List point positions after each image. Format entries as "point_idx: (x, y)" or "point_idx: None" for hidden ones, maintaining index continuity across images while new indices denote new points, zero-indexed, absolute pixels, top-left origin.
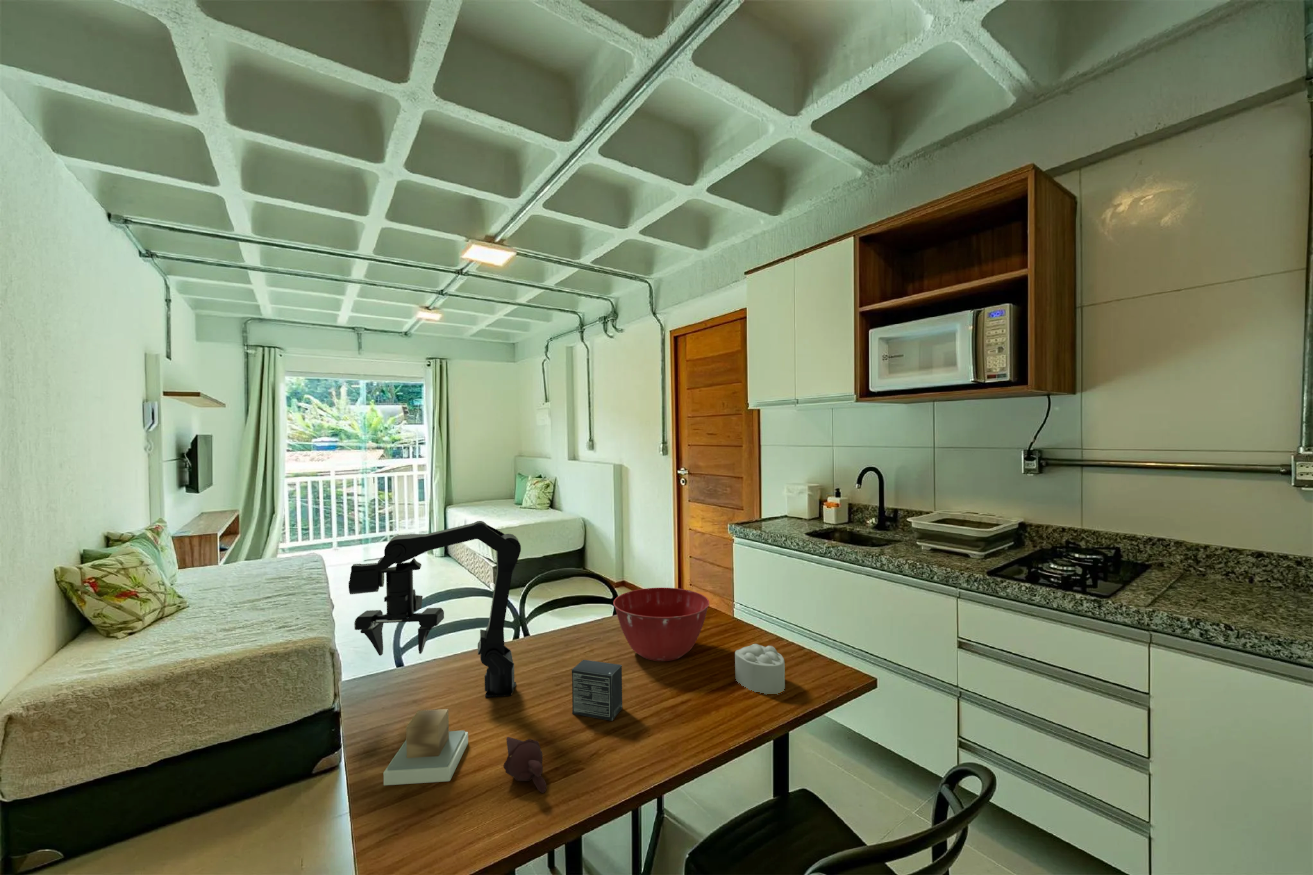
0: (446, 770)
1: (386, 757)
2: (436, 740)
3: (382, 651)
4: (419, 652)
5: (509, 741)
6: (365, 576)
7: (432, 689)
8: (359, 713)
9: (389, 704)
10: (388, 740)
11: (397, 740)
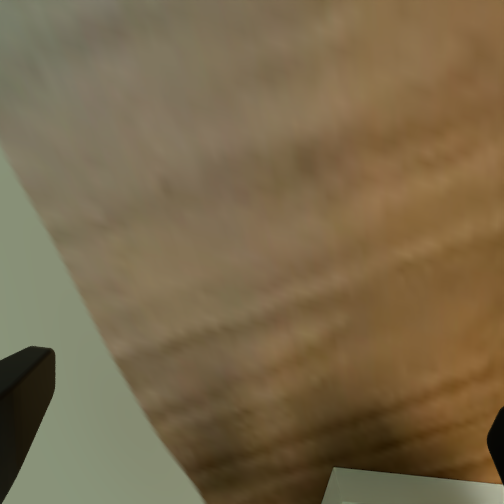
0: None
1: (275, 497)
2: None
3: (38, 375)
4: (499, 462)
5: None
6: None
7: (384, 41)
8: (70, 213)
9: (186, 160)
10: (259, 425)
11: (289, 431)
